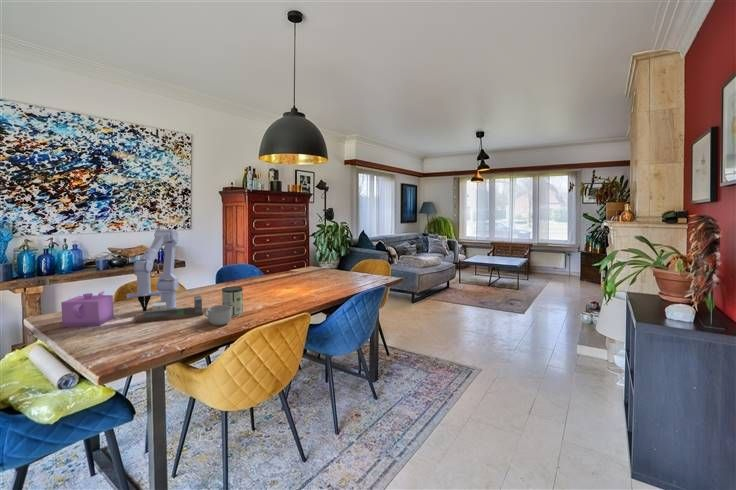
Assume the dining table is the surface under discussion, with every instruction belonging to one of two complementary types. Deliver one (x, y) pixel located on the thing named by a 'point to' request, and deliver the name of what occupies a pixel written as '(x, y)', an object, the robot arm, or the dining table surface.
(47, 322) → the dining table surface
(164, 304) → the gauge slider
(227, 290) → the coffee can
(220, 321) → the teacup
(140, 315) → the gauge base
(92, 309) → the purple box
